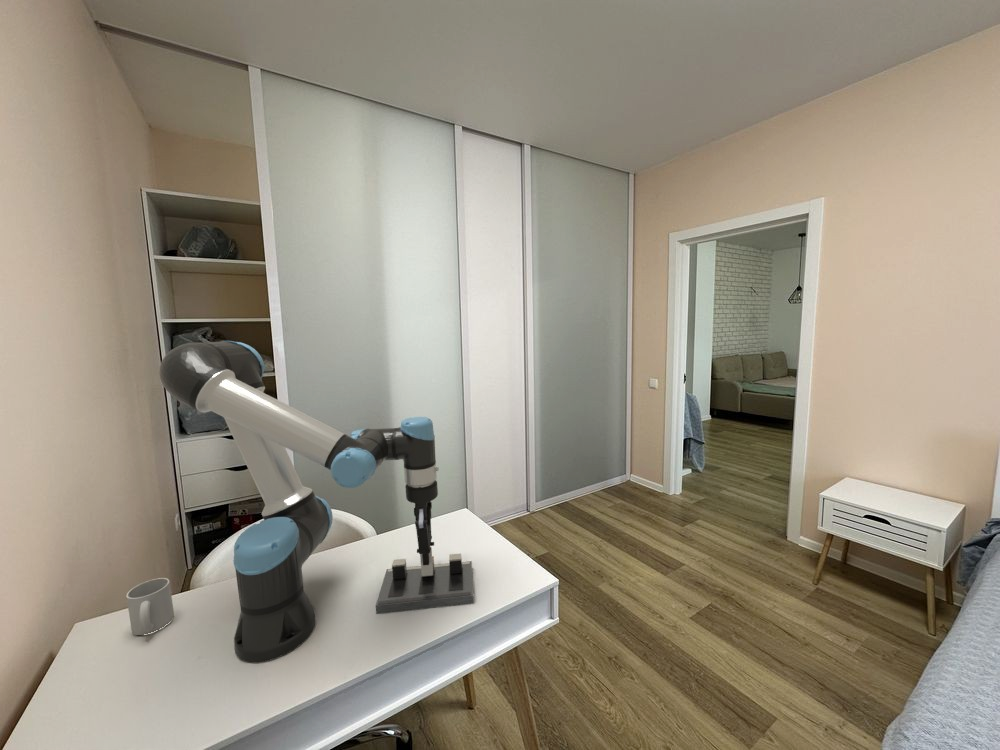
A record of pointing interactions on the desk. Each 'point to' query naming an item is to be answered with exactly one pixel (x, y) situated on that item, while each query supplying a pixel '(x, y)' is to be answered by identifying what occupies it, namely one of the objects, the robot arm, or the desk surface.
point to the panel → (426, 586)
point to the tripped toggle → (433, 567)
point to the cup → (150, 606)
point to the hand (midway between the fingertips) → (427, 573)
